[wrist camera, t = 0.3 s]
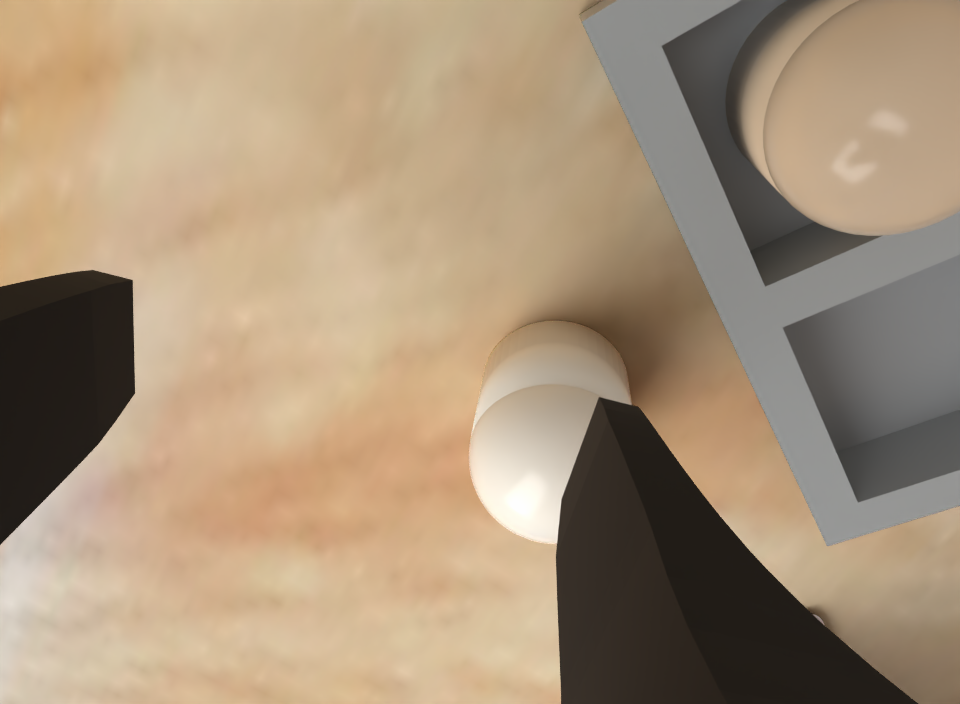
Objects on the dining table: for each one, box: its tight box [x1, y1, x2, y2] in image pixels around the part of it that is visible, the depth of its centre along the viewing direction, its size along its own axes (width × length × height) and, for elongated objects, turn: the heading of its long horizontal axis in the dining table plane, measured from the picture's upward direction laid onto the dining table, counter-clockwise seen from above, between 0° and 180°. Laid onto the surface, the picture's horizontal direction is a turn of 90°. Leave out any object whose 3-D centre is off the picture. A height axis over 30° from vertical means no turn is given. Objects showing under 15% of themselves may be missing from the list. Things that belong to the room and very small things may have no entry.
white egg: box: [469, 320, 632, 544], centre depth 19 cm, size 4×4×6 cm
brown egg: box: [725, 0, 960, 236], centre depth 14 cm, size 4×4×6 cm
